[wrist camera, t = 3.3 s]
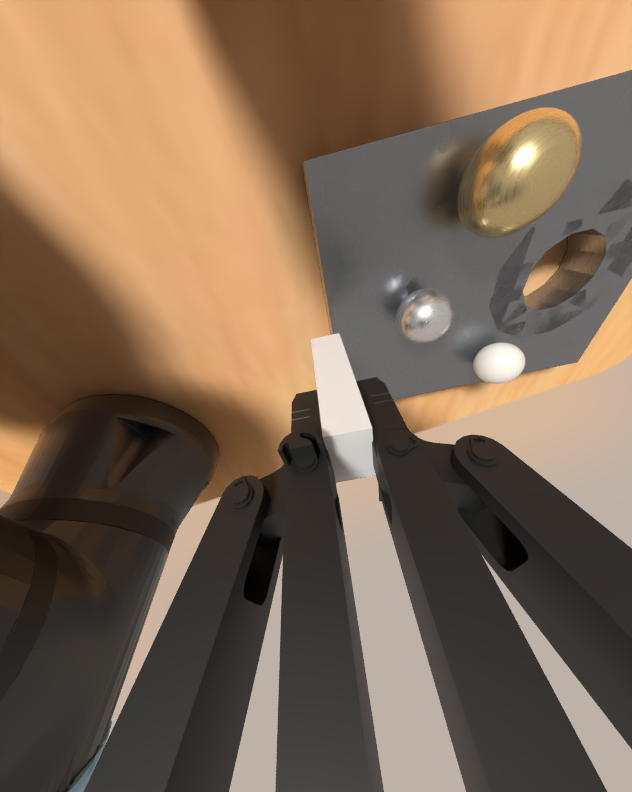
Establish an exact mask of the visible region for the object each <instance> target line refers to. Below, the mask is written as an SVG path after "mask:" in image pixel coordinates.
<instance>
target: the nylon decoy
mask: <svg viewBox="0 0 632 792" xmlns="http://www.w3.org/2000/svg"><path fill="white" fill-rule="evenodd" d="M524 367H525V356H524V354H523V352H522V351H521V350H520V349H519V348H518V347H517V346H515V345H513V344H509V343H493V344H490V345H488V346H486V347H484V348H482V349H481V350H480V351H479V352H478V353H477V355H476V356H475V358H474V361H473V369H474V372H475V373H476V375H477V376H478V377H479V378H480V379H482V380H483V381H485V382H488V383H493V384H501V383H506V382H509V381H511V380H513V379H515V378H516V377H518V376H519V375H520V374H521V372H522V371H523V369H524Z"/></svg>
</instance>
